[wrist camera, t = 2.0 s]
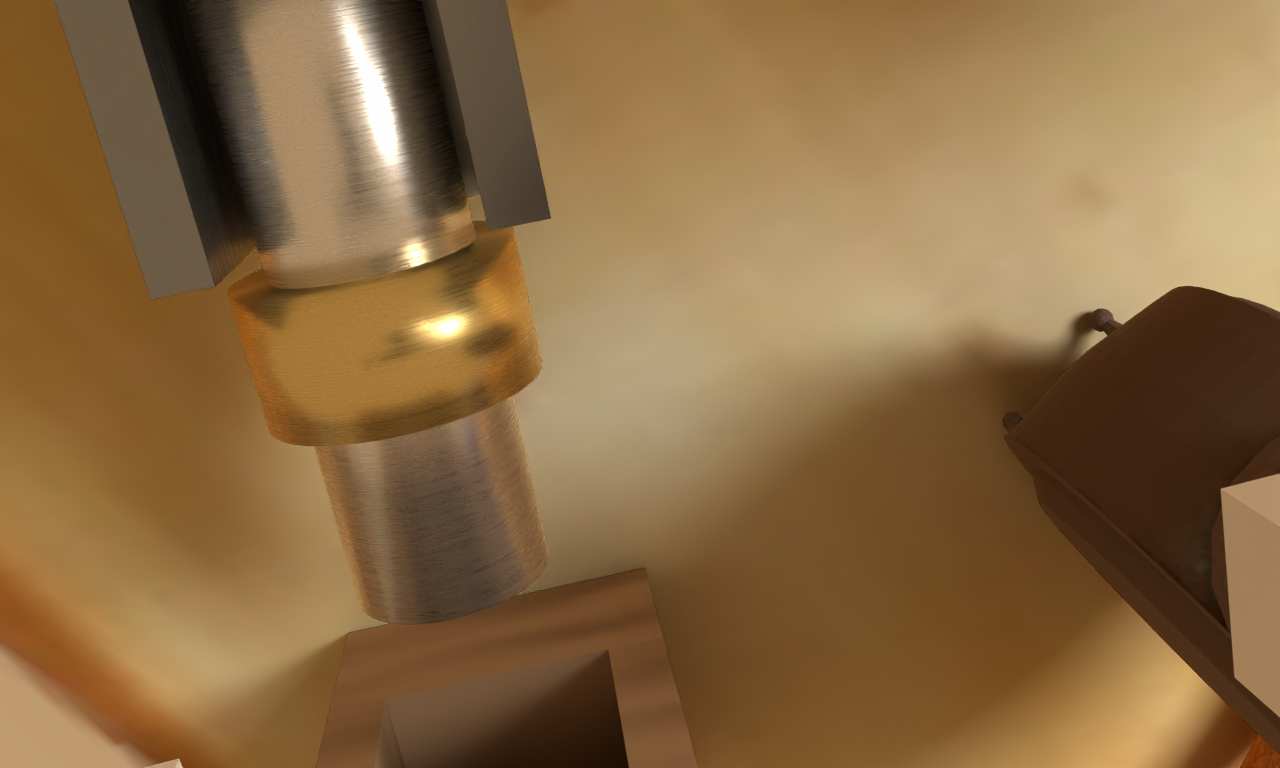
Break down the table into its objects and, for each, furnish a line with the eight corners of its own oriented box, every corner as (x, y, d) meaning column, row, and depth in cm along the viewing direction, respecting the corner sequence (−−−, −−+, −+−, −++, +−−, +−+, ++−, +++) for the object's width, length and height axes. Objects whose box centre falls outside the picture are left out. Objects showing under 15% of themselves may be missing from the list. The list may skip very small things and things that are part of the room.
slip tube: (98, -290, 24) (-24, -383, 19) (391, -341, 25) (360, -449, 19) (341, 546, 30) (305, 670, 24) (575, 496, 30) (592, 606, 25)
